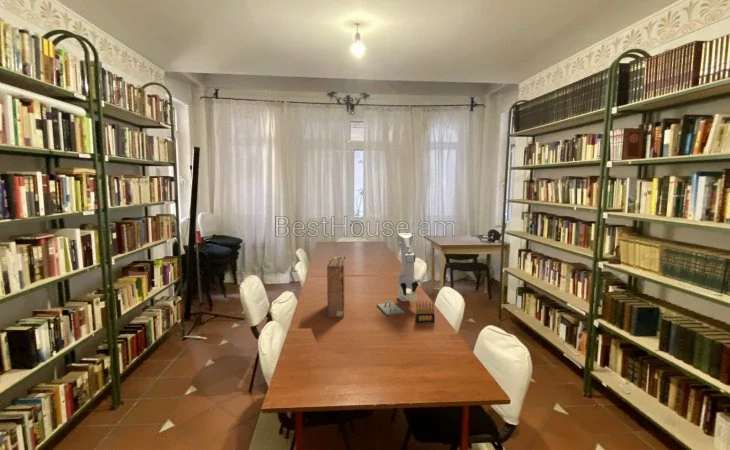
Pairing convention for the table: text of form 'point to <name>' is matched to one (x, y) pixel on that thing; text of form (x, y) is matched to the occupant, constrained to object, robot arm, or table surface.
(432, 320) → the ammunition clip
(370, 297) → the table surface
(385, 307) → the flat gray board
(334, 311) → the book
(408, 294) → the cream rectangular block
